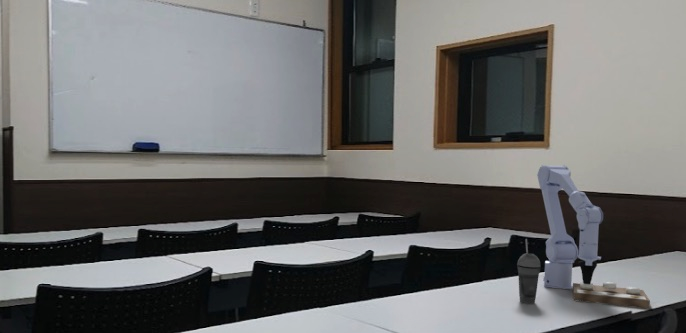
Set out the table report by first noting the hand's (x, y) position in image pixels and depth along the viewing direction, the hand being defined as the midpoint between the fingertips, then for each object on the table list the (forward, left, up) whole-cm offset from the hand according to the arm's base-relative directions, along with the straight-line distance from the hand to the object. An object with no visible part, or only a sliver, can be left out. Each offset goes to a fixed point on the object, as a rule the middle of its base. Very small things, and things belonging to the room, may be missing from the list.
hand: (586, 283), depth 200 cm
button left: (0, 0, -2) cm, 2 cm away
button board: (+7, 0, -4) cm, 8 cm away
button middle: (+7, 0, -1) cm, 7 cm away
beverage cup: (-18, -18, -4) cm, 26 cm away
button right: (+14, 0, -2) cm, 14 cm away
